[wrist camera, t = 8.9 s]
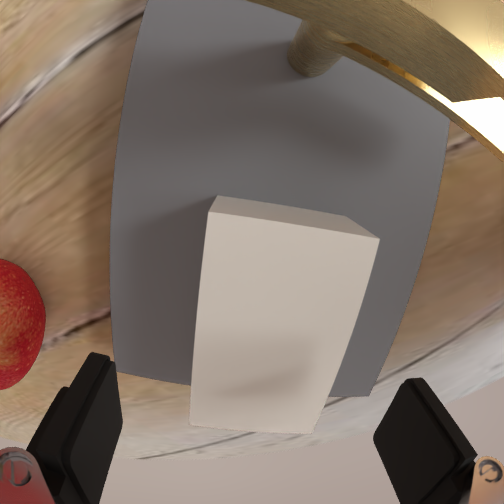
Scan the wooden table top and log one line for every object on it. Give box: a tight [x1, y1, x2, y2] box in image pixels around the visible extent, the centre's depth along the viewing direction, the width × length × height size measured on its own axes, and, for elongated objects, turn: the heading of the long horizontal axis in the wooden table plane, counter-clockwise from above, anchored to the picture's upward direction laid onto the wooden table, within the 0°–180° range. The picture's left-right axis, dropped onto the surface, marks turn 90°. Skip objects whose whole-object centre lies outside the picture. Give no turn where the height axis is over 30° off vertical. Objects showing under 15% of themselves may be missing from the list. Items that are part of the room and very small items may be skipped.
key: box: [245, 0, 504, 162], centre depth 8 cm, size 2×12×9 cm, turn 70°
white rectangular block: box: [189, 195, 380, 434], centre depth 14 cm, size 6×10×4 cm, turn 171°
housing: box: [110, 0, 450, 397], centre depth 15 cm, size 16×23×3 cm
